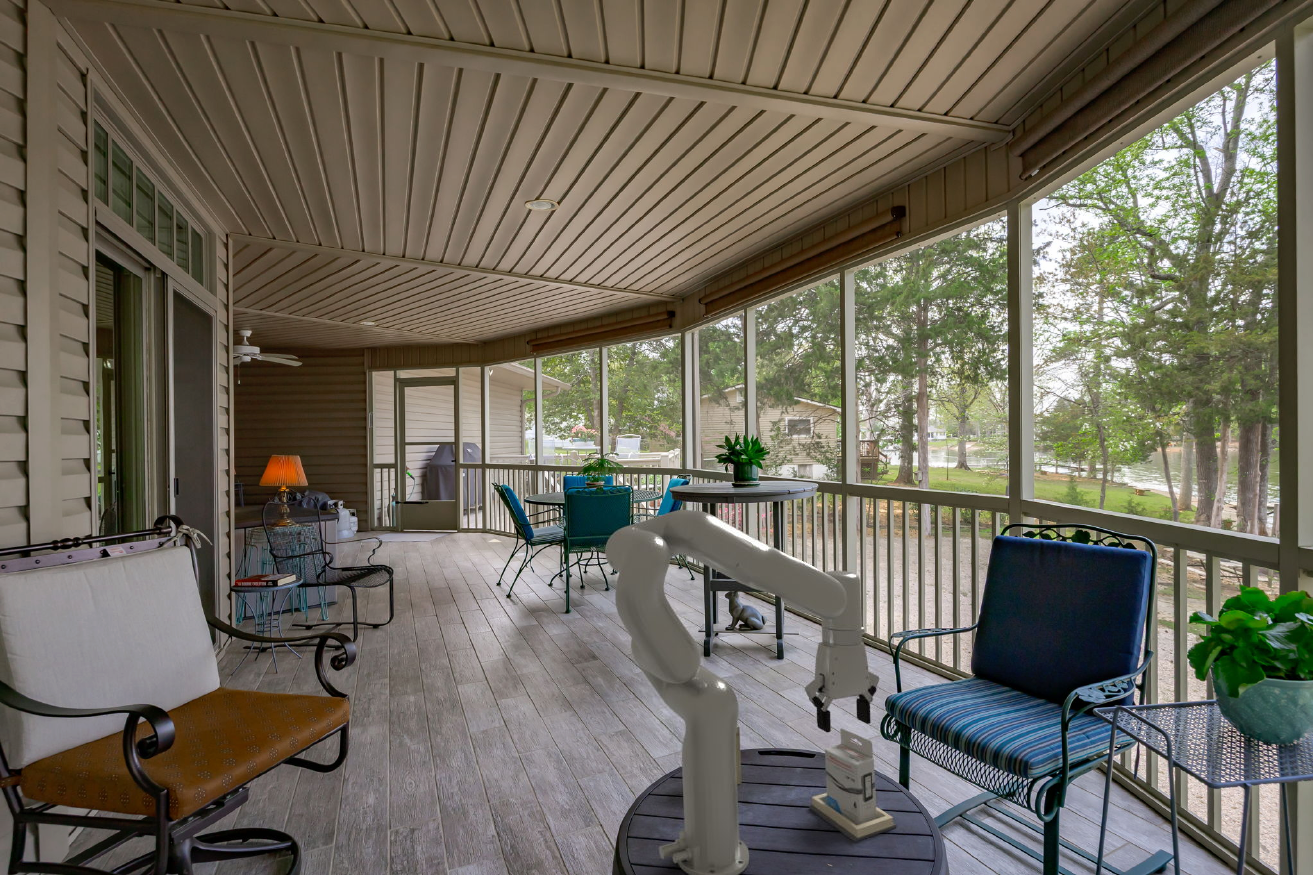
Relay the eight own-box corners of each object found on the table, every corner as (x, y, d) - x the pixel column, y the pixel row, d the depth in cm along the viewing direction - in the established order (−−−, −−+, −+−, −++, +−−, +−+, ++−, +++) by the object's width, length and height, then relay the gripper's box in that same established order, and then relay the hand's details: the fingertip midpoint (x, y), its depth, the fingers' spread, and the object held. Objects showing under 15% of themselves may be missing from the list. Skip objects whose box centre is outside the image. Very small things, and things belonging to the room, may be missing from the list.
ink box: (825, 809, 126) (822, 732, 126) (843, 801, 128) (839, 726, 129) (860, 829, 118) (856, 747, 119) (878, 820, 121) (874, 741, 122)
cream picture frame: (854, 841, 115) (854, 830, 115) (809, 808, 127) (808, 797, 127) (896, 827, 119) (896, 816, 119) (849, 796, 131) (848, 786, 131)
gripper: (862, 627, 132) (865, 712, 131) (793, 636, 125) (795, 726, 124) (889, 635, 125) (892, 725, 124) (818, 645, 118) (820, 740, 117)
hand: (844, 725), depth 124 cm, fingers open, 9 cm apart
